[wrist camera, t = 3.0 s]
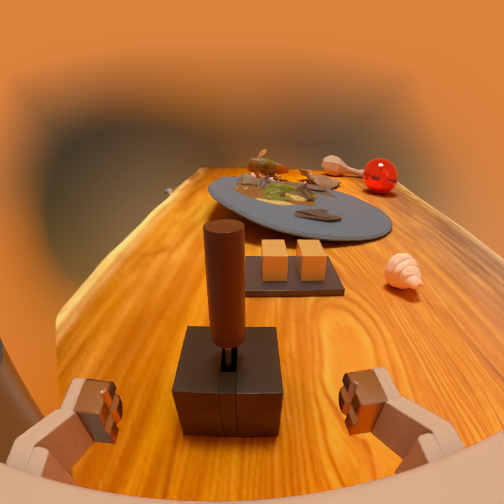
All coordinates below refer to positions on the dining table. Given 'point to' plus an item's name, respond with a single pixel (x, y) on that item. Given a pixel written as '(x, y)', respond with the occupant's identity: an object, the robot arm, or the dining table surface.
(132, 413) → the dining table surface
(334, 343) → the dining table surface
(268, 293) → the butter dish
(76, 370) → the dining table surface
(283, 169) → the decorative fish sculpture
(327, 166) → the faceted beige polyhedron
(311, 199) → the serving platter
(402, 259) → the peach ridged curved piece
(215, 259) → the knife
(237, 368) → the brown slotted box
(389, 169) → the ball
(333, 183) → the coral
